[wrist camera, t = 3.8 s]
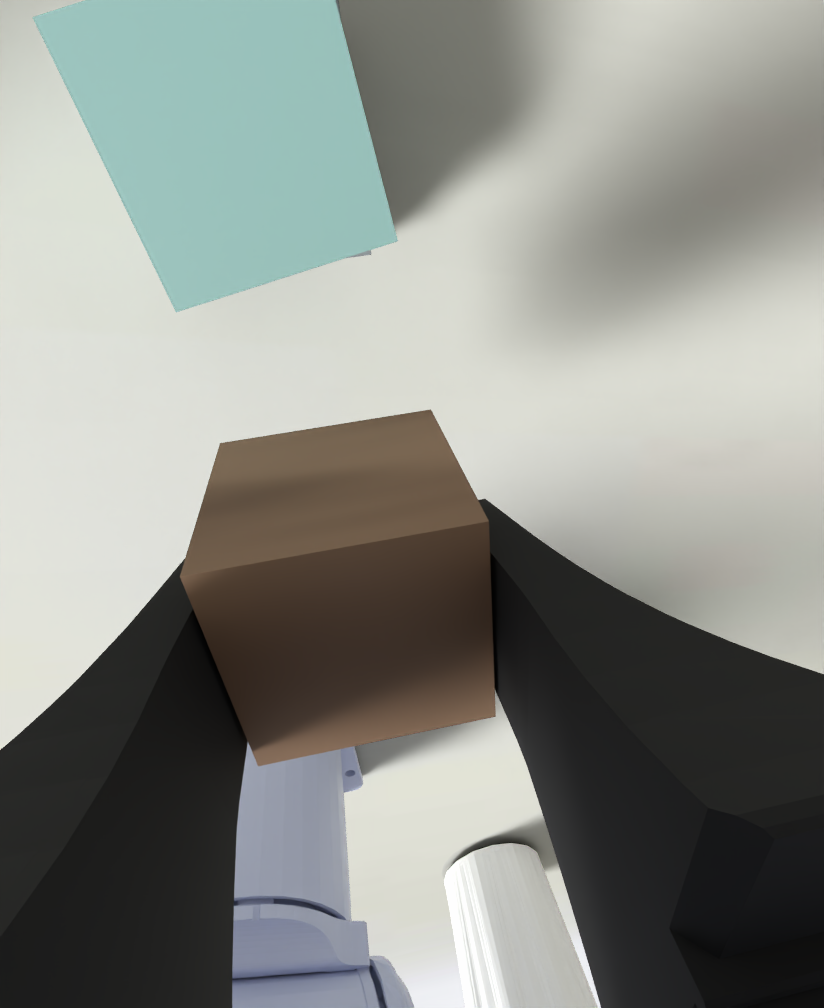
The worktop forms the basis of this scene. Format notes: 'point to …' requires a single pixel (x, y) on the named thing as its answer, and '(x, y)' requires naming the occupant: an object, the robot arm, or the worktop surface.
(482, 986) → the cup
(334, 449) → the walnut cube
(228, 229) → the mid slab
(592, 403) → the worktop surface
